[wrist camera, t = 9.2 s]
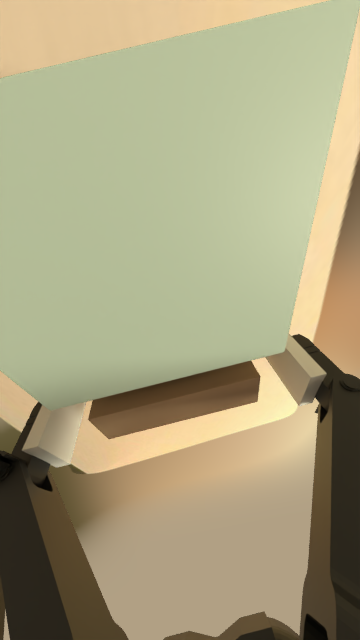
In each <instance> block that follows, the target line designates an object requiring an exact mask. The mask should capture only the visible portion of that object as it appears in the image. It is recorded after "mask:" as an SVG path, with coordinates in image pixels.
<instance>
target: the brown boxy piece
mask: <svg viewBox="0 0 360 640" xmlns="http://www.w3.org/2000/svg"><path fill="white" fill-rule="evenodd" d="M259 384H260V375H259V373H258V372H257V370H256V368H255V367H254V365H253V363H252V362H251V361H247V362H243V363H239V364H235V365H231V366H227V367H223V368H219V369H215V370H211V371H207V372H203V373H199V374H195V375H191V376H187V377H183V378H179V379H175V380H171V381H167V382H163V383H159V384H155V385H151V386H147V387H143V388H139V389H135V390H131V391H127V392H123V393H119V394H115V395H111V396H107V397H103V398H99V399H95V400H93V402H92V406H91V410H90V414H89V419H88V420H89V421H90V422H91V423H92V424H93V425H94V426H95V427H96V428H98V429H99V430H100V431H101V432H102V433H103V434H104V435H105V436H106V437H107V438H108V439H111V438H115V437H119V436H123V435H127V434H131V433H135V432H139V431H143V430H147V429H151V428H155V427H159V426H163V425H167V424H171V423H175V422H179V421H183V420H187V419H191V418H195V417H198V416H202V415H206V414H210V413H214V412H218V411H222V410H226V409H230V408H234V407H238V406H242V405H246V404H250V403H254V402H257V400H258V392H259Z"/></svg>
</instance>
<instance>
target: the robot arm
mask: <svg viewBox="0 0 360 640" xmlns="http://www.w3.org/2000/svg"><path fill="white" fill-rule="evenodd" d="M266 359H267V360H268V362H269V363H270V365H271V366H272V368H273V369H274V370H275V372H276V373H277V375H278V376H279V378H280V379H281V381H282V382H283V384H284V385H285V386H286V388H287V389H288V391H289V392H290V394H291V395H292V397H293V398H294V400H295V401H296V402H297V404H298V405H299V406H302V405H306V404H309V403H312V402H313V400H314V398H316V399H317V400H318V402H319V405H318V407H317V409H316V411H315V413H318V423H317V438H316V453H315V469H314V483H313V499H312V514H311V529H310V545H309V559H308V570H307V575H306V578H305V582H304V587H303V596H302V610H301V623H300V636H299V635H298V634H297V633H295V632H294V631H293V630H292V629H291V628H290V627H288V626H287V625H285V624H284V623H282V622H280V621H278V620H276V619H273V618H269V617H266V614H265V612H261V613H256V614H253V615H249V616H245V617H241V618H239V619H238V620H237V621H236V622H235V623H233V625H231V626H230V627H229V628H228V629H227V630H225V632H223V633H222V634H221V635H220V636H218V637H211V636H207V635H203V634H199V633H195V632H191V631H188V632H184V633H180V634H176V635H172V636H169V637H166V638H164V640H360V379H359V378H357V377H355V376H353V375H350V374H345V373H343V372H342V371H341V370H340V369H339V368H338V367H337V366H336V365H335V364H334V363H333V362H332V361H330V359H328V358H327V357H326V356H325V355H324V354H323V353H322V352H320V350H319V349H318V348H317V347H316V346H314V344H313V343H312V342H311V341H310V340H309V339H307V338H306V337H304V336H302V335H300V334H298V335H294V336H291V335H290V334H289V333H288V338H287V342H286V347H285V352H283V353H279V354H275V355H271V356H267V357H266ZM85 405H86V402H83V403H79V404H75V405H71V406H67V407H63V408H59V409H55V410H51V411H50V410H48V409H47V408H46V407H45V406H43V405H42V404H41V403H40V402H38V403H37V404H36V406H35V407H34V408H33V410H32V412H31V414H30V416H29V419H28V421H27V423H26V426H25V427H24V429H23V431H22V433H21V435H20V437H19V439H18V442H17V443H16V446H15V447H14V450H13V452H12V454H9V453H7V452H5V451H0V640H3V635H4V618H5V609H6V616H7V622H8V629H9V635H10V640H128V638H127V636H126V634H125V632H124V631H123V630H122V628H120V627H119V626H118V625H117V624H116V623H115V622H114V620H113V619H112V617H111V615H110V612H109V610H108V608H107V605H106V603H105V600H104V598H103V596H102V593H101V591H100V588H99V587H98V584H97V581H96V579H95V577H94V574H93V572H92V569H91V567H90V565H89V562H88V560H87V558H86V555H85V553H84V551H83V548H82V546H81V544H80V541H79V539H78V536H77V534H76V532H75V529H74V527H73V524H72V522H71V520H70V517H69V515H68V512H67V510H66V508H65V505H64V503H63V501H62V498H61V496H60V493H59V491H58V489H57V486H56V484H55V482H54V479H53V477H52V474H51V473H50V472H49V471H48V470H49V466H50V464H51V465H53V466H55V467H60V466H65V465H69V464H70V463H71V459H72V455H73V451H74V448H75V444H76V440H77V436H78V432H79V428H80V424H81V421H82V417H83V413H84V409H85Z"/></svg>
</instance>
